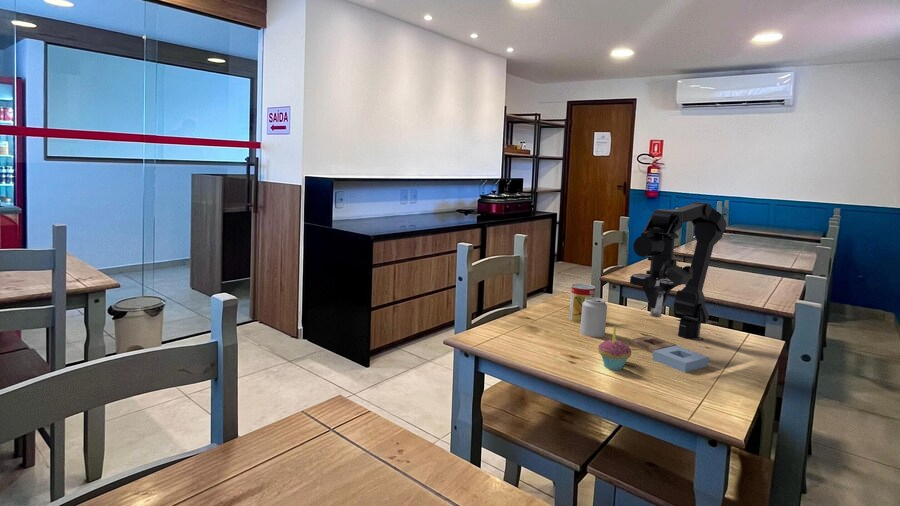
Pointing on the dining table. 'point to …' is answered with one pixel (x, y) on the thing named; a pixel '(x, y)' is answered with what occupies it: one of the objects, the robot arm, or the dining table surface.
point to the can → (593, 317)
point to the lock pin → (658, 304)
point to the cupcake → (614, 353)
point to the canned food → (579, 299)
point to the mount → (650, 343)
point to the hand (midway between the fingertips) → (656, 307)
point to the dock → (680, 358)
